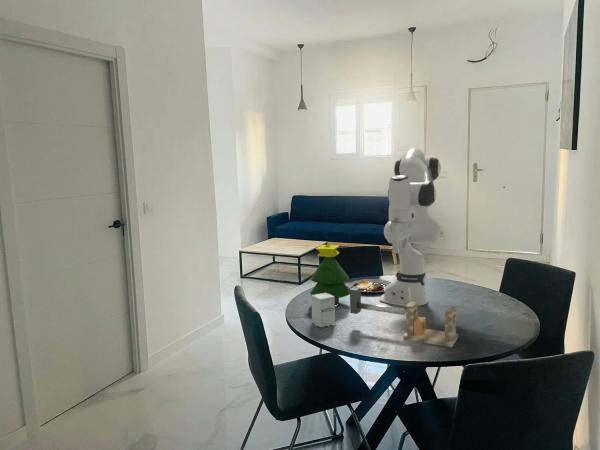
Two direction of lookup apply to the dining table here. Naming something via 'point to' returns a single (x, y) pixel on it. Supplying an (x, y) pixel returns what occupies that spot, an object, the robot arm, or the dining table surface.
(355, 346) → the dining table surface
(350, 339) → the dining table surface
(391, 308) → the shaft
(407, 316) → the shaft stand
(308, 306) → the dining table surface
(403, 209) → the robot arm
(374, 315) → the dining table surface
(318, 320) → the supplement box
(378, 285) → the food plate
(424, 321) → the spacer
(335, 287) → the decorative tree
